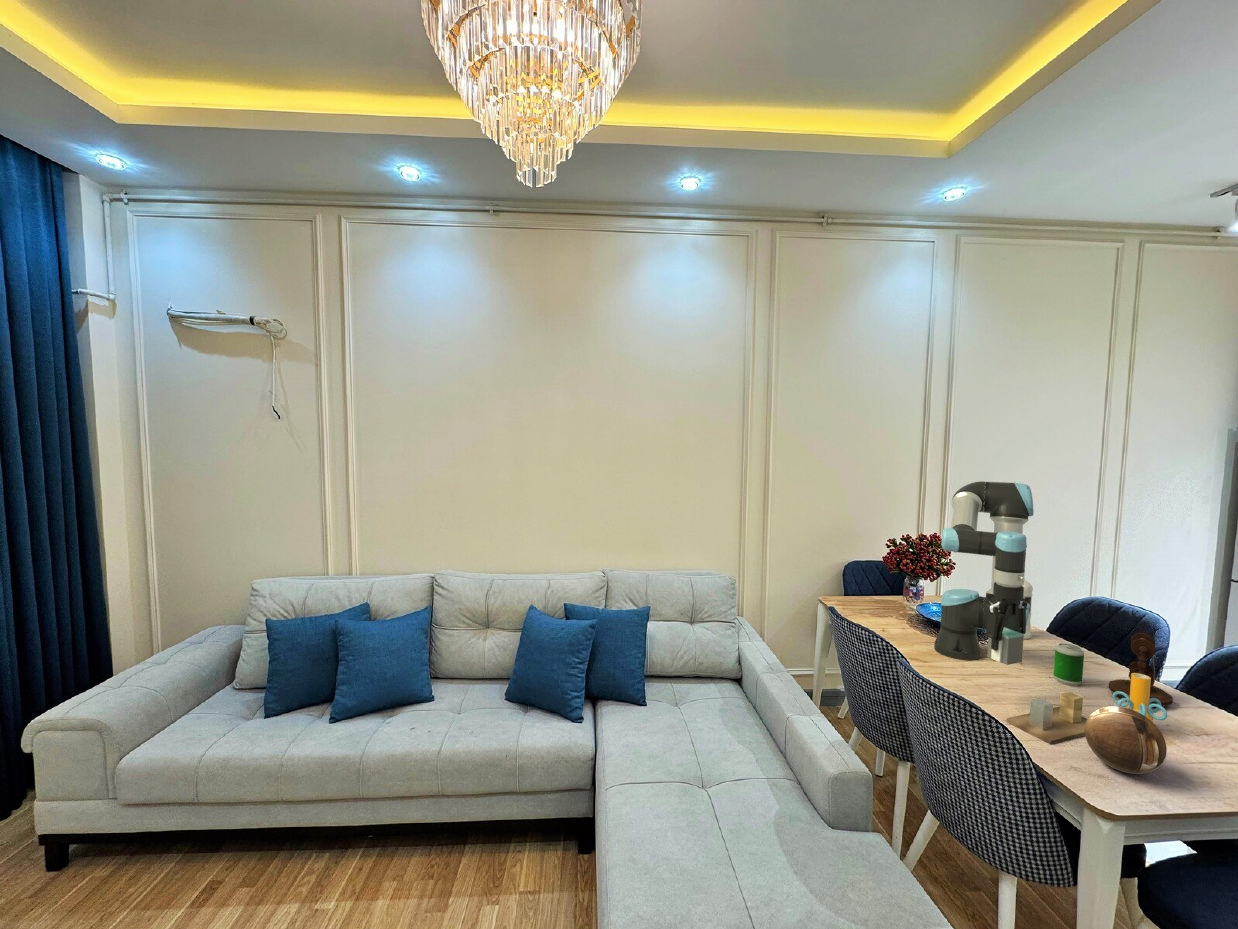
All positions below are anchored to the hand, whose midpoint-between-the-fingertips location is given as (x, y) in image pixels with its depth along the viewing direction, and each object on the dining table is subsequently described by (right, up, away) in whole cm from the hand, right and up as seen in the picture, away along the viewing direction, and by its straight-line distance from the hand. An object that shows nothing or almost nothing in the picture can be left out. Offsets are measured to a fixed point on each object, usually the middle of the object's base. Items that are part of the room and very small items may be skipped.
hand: (1004, 658), depth 170 cm
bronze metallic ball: (+7, -17, -31) cm, 36 cm away
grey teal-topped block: (0, 0, 0) cm, 0 cm away
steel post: (0, -15, -14) cm, 20 cm away
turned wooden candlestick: (+45, -14, +4) cm, 47 cm away
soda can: (+32, -13, +16) cm, 38 cm away
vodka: (+44, -11, +57) cm, 73 cm away
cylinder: (+29, -15, -13) cm, 35 cm away
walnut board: (+6, -15, -12) cm, 20 cm away
